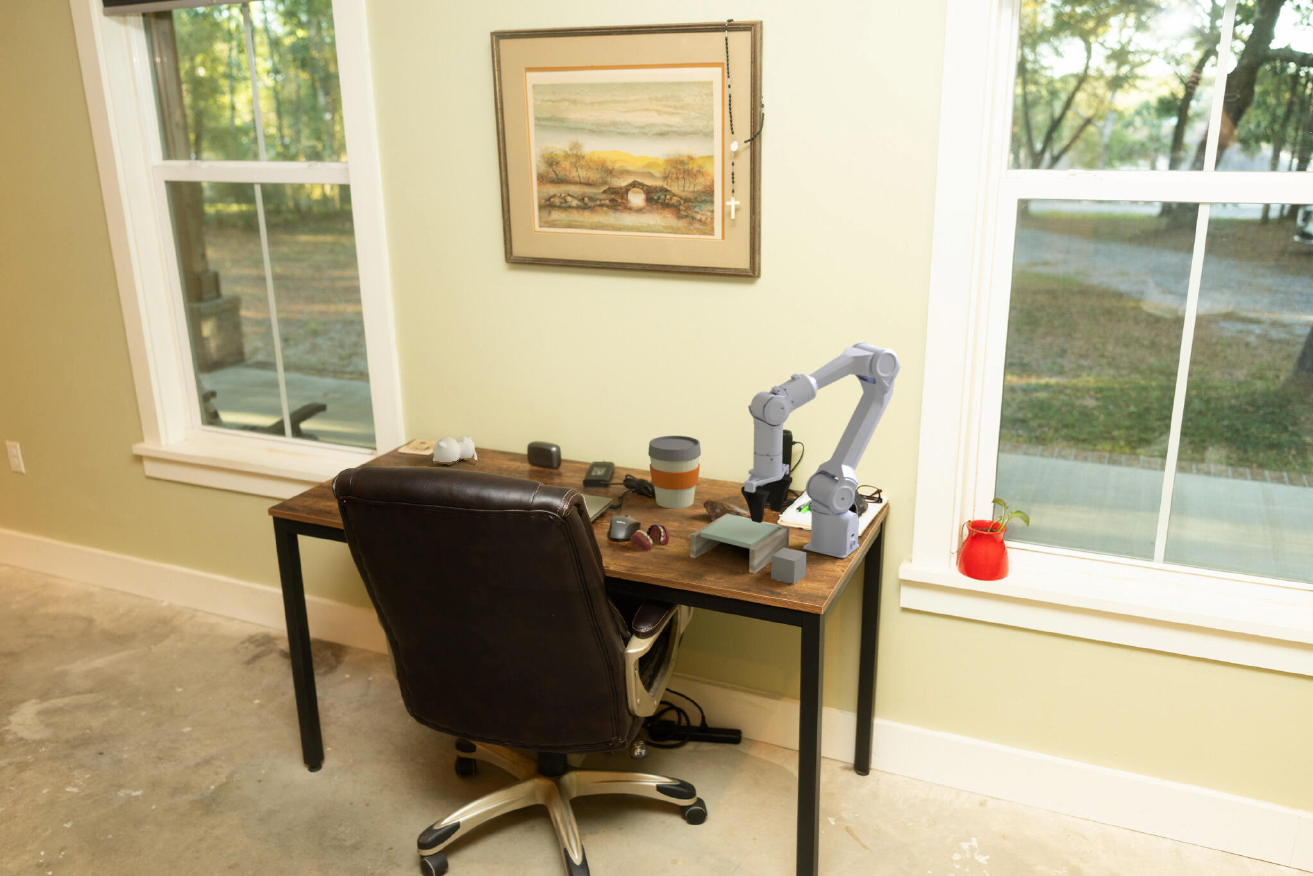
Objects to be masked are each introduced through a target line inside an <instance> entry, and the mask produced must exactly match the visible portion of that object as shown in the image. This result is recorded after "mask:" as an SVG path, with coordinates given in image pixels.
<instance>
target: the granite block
mask: <svg viewBox="0 0 1313 876" xmlns="http://www.w3.org/2000/svg"><path fill="white" fill-rule="evenodd" d="M806 573H807V552H805V551H801V550H798V549H797V550H796V549H793V548H790V547H789V548H784V547H783V548H782V549H781V550H779V551H778V552H776V553H775V554H773V555H772V562H771V576H770V579H771V580H774V579H776V580H775V581H778V580H780V581H779V582H782V581H784V582H783V583H786V584H789V583H792V584H791V585H793V584H794V585H796V584H797V583H798V582H800V581H801V580H802V579H803V578H805V577H806ZM804 576H805V577H804ZM800 579H801V580H800ZM799 580H800V581H799ZM797 581H798V582H797ZM796 582H797V583H796ZM795 583H796V584H795Z"/></svg>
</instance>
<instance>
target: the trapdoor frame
mask: <svg viewBox="0 0 1313 876" xmlns="http://www.w3.org/2000/svg"><path fill="white" fill-rule="evenodd" d="M729 515H732V514H725V515H724V516H722V517H720V518H718V519H717V520H715V521H712V522H709V523H708V524H706V525H705V526H703V527H701V528H699V529H697V530H696V531H694V532H692V533H691V534H690V536H689V537H690V539H689V540H690V544H689V545H690V547H689V548H690V558H694V559H696V558H698V557H699V556H701V555H703V554H704V552H705V553H706V552H708V551H709V550H711V549H713V548H714V547H716V546H717V545H720V544H721V543H722V542H721V541H717V540H712V539H708V538H704V537H700V532H701V531H703V530H704V529H706V528H708V527H710V526H711V525H713V524H715V523H717V522H718V521H720V520H722V519H723V518H725V517H727V516H729ZM733 516H736V515H733ZM737 517H741V516H737ZM742 518H745V517H742ZM746 519H750V518H746ZM750 520H752V519H750ZM762 522H764V523H768V524H773V525H777V526H779V530H778V531H776V532H775V533H773V534H772V535H770V536H769V537H767V538H766V539H764V540H763V541H761V542H760V543H758V544H756V545H755V546H753V547H752V548H750V549H749V560H748V561H749V568H748V571H749V573H751V574H756V573H758V572H759V571H761V569H763V568H764V567H766V566H767V565H769V564H771V563H772V555H773V554H775V553H776V552H778V551H779V550H781V549H782V548H783V547H784V548H789V549H790V529H791V528H790V526H784V525H781V524H776V523H771V522H767V521H762Z"/></svg>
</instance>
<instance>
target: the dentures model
mask: <svg viewBox="0 0 1313 876" xmlns="http://www.w3.org/2000/svg"><path fill="white" fill-rule="evenodd" d="M655 540H656V542H658V543H659V544H661V545H663V546H668V545H669V540H670V535H669V530H668V529H667V527H666V526H664V525H662V524H661V525H660V524H651V525H649V527H648V528H647V530H646V532H645V531H644V530H639V529H638V530H636V531H635V532H634V533H633V534H632V535H630V543H631V544H632V545H633V544H634V545H633V546H635V545H637V546H636V547H638V548H640V547H641V548H640V549H642V550H644V549H645V550H644V551H647V552H649V551H651V550H652V547H653V546H652V545H653V541H655ZM667 544H668V545H667ZM648 550H649V551H648Z"/></svg>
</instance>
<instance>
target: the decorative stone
mask: <svg viewBox="0 0 1313 876" xmlns="http://www.w3.org/2000/svg"><path fill="white" fill-rule="evenodd" d="M703 507H704V509H705V511H706V513H707V514H708V515H709V517H710V518H711V521H712V522H713V521H715V520H717V519H718V518H720V517H722V516H724V515H725V514H732V515H736V516H741V517H745V518H750V519H751V516H750V514H749V513H748V512H747V510H744V509H743V508H741V507H738V506H737V505H734V504H731V503H727V502H722V501H720V500H717V499H711V498H709V499H706V501H705V502H703Z"/></svg>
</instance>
